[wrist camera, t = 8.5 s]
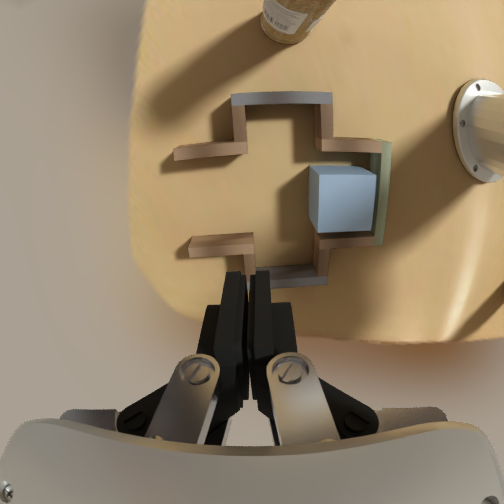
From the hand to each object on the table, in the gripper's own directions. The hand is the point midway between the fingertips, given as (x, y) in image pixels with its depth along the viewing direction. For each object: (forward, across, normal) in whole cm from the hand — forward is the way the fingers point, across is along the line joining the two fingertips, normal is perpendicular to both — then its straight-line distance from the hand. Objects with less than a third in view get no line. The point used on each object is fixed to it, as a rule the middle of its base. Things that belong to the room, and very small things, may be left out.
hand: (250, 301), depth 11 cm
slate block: (+17, -8, +1) cm, 18 cm away
